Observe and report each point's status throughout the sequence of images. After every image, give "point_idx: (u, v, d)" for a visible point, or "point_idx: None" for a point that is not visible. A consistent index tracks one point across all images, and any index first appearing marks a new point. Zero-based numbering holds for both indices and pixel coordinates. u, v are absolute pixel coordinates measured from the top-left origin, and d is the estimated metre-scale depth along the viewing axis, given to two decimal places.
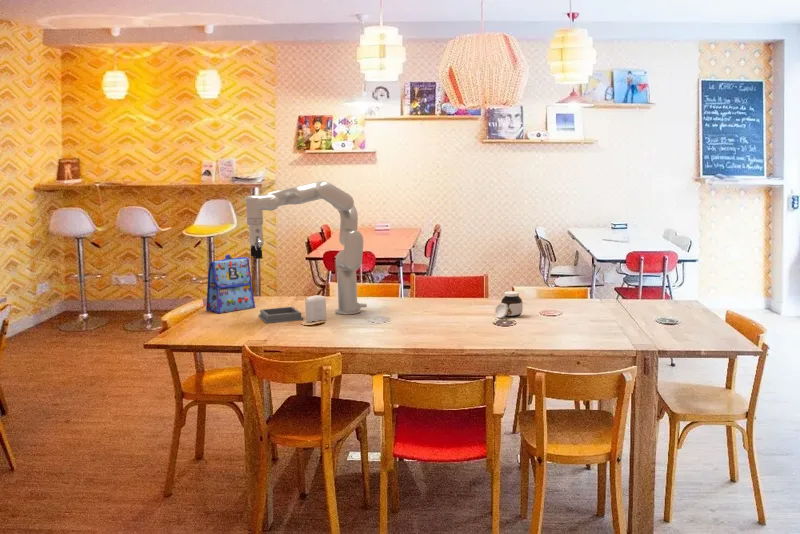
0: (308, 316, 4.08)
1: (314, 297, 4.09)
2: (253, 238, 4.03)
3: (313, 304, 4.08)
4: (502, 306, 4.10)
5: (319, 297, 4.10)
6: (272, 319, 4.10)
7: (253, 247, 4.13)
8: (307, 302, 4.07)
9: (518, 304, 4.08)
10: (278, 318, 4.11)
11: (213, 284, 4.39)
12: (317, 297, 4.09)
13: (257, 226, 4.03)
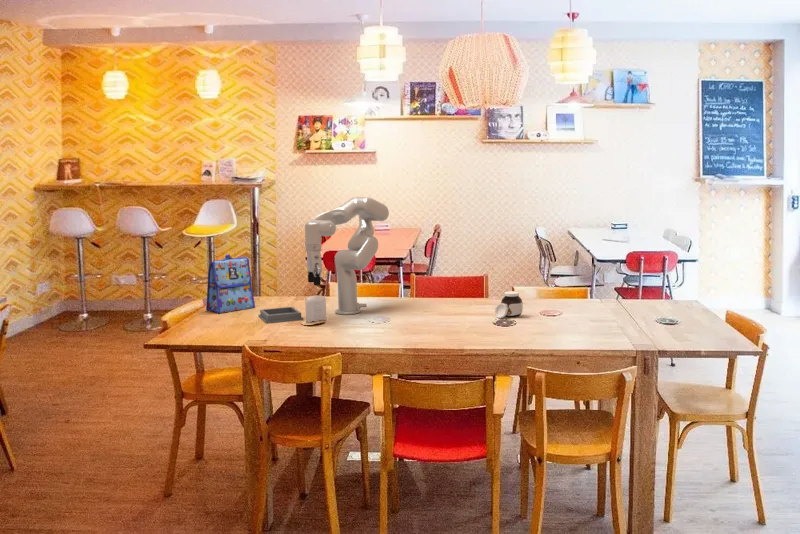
0: (308, 316, 4.08)
1: (314, 297, 4.09)
2: (312, 265, 4.03)
3: (313, 304, 4.08)
4: (502, 306, 4.10)
5: (319, 297, 4.10)
6: (272, 319, 4.10)
7: (310, 273, 4.13)
8: (307, 302, 4.07)
9: (518, 304, 4.08)
10: (278, 318, 4.11)
11: (213, 284, 4.39)
12: (317, 297, 4.09)
13: (316, 253, 4.03)
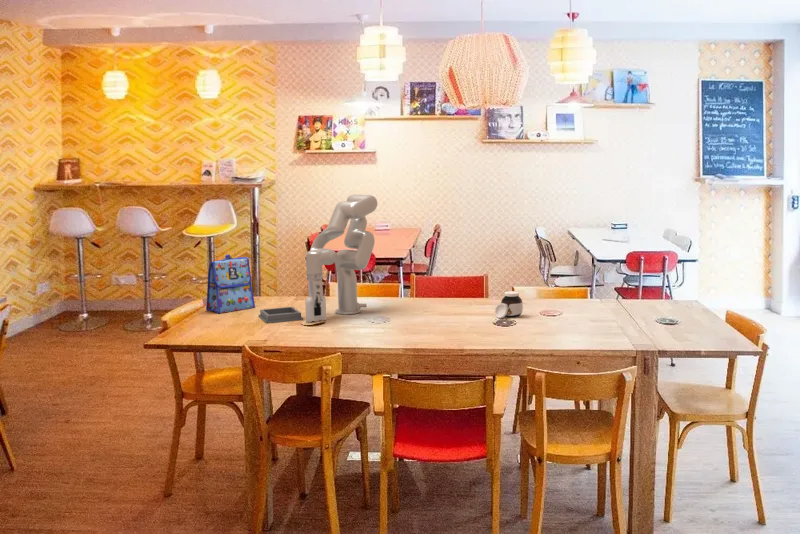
0: (308, 316, 4.08)
1: None
2: (313, 294, 4.05)
3: (313, 304, 4.08)
4: (502, 306, 4.10)
5: None
6: (272, 319, 4.10)
7: None
8: (307, 302, 4.07)
9: (518, 304, 4.08)
10: (278, 318, 4.11)
11: (213, 284, 4.39)
12: None
13: (317, 282, 4.05)
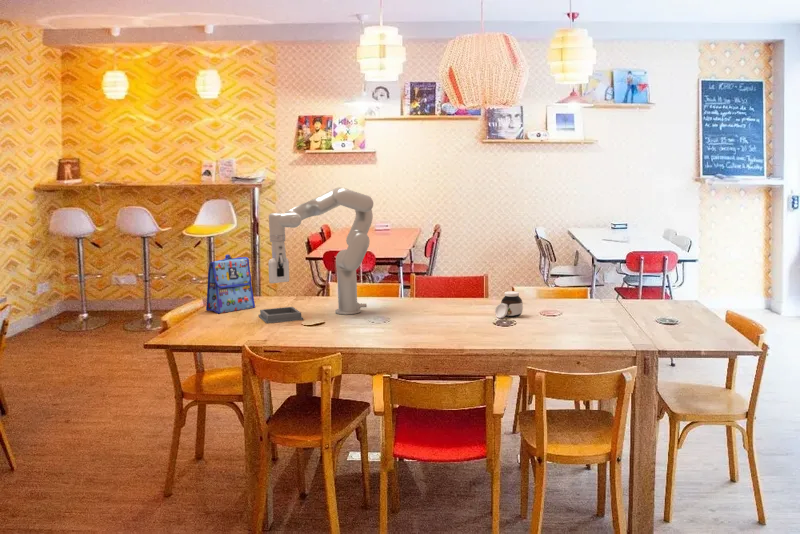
0: (271, 277, 4.13)
1: None
2: (276, 255, 4.10)
3: (276, 265, 4.13)
4: (502, 306, 4.10)
5: None
6: (272, 319, 4.10)
7: None
8: (270, 263, 4.12)
9: (518, 304, 4.08)
10: (278, 318, 4.11)
11: (213, 284, 4.39)
12: None
13: (280, 243, 4.10)
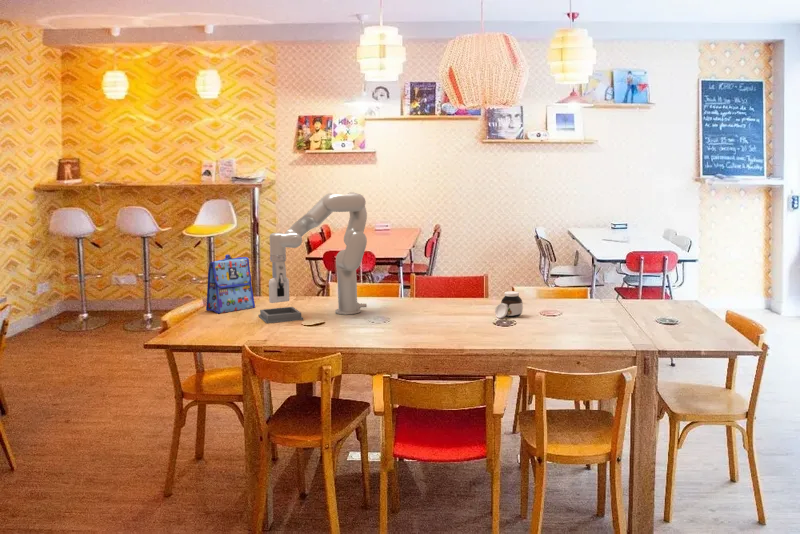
0: (271, 297, 4.15)
1: None
2: (276, 275, 4.12)
3: (276, 285, 4.14)
4: (502, 306, 4.10)
5: None
6: (272, 319, 4.10)
7: None
8: (270, 283, 4.14)
9: (518, 304, 4.08)
10: (278, 318, 4.11)
11: (213, 284, 4.39)
12: None
13: (280, 263, 4.12)
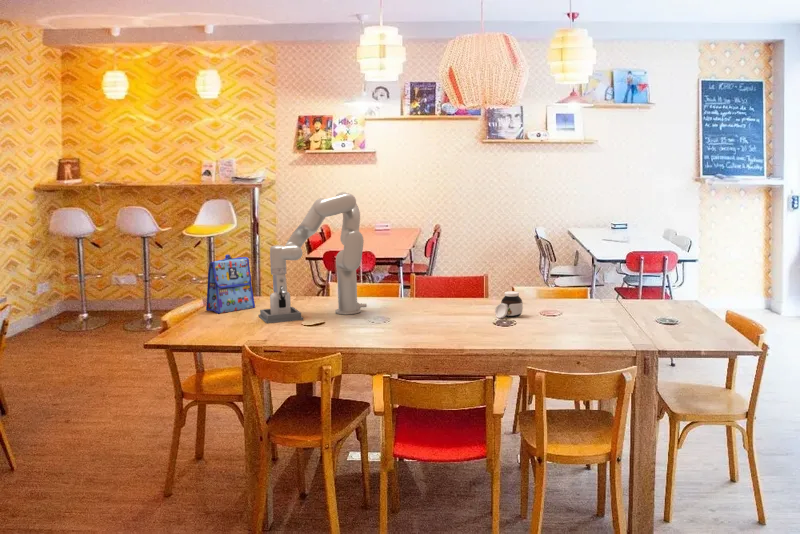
0: (272, 311, 4.16)
1: None
2: (277, 287, 4.13)
3: (277, 299, 4.15)
4: (502, 306, 4.10)
5: None
6: (272, 319, 4.10)
7: None
8: (271, 298, 4.15)
9: (518, 304, 4.08)
10: (278, 318, 4.11)
11: (213, 284, 4.39)
12: None
13: (281, 276, 4.13)
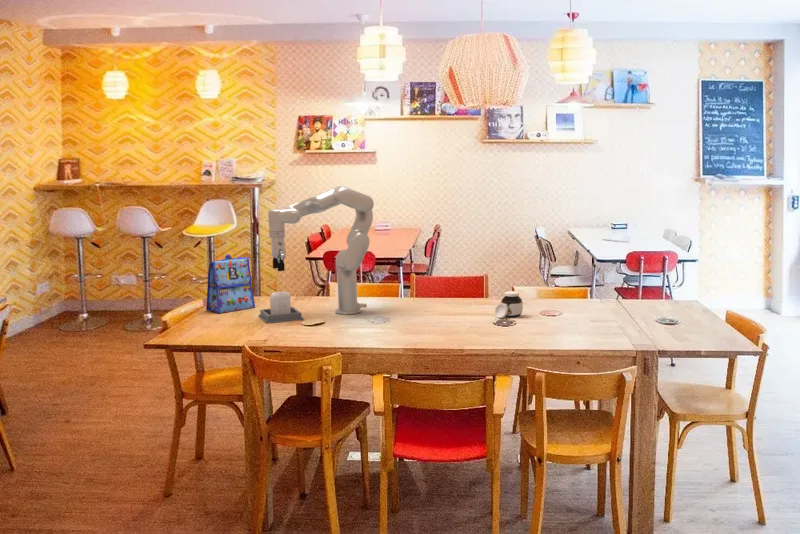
0: (272, 311, 4.16)
1: (278, 293, 4.16)
2: (276, 251, 4.10)
3: (277, 299, 4.15)
4: (502, 306, 4.10)
5: (283, 293, 4.17)
6: (272, 319, 4.10)
7: (275, 259, 4.20)
8: (271, 298, 4.15)
9: (518, 304, 4.08)
10: (278, 318, 4.11)
11: (213, 284, 4.39)
12: (281, 293, 4.17)
13: (279, 239, 4.10)
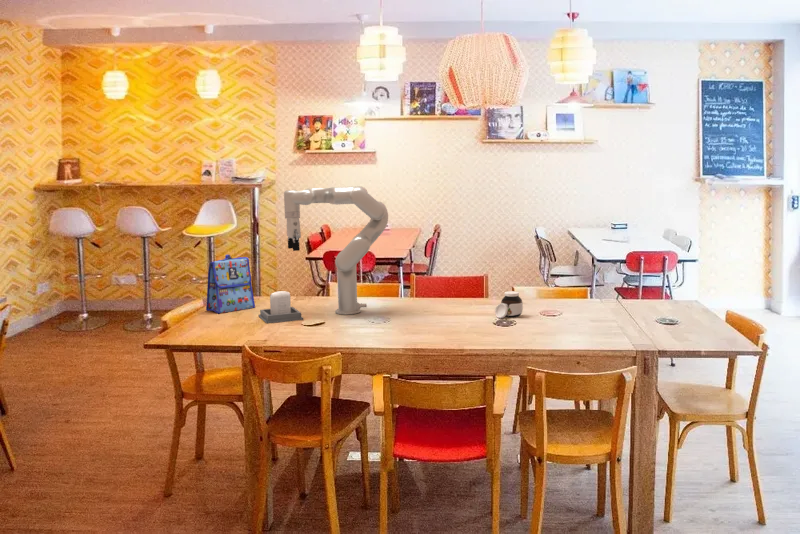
0: (272, 311, 4.16)
1: (278, 293, 4.16)
2: (291, 231, 4.20)
3: (277, 299, 4.15)
4: (502, 306, 4.10)
5: (283, 293, 4.17)
6: (272, 319, 4.10)
7: (290, 240, 4.30)
8: (271, 298, 4.15)
9: (518, 304, 4.08)
10: (278, 318, 4.11)
11: (213, 284, 4.39)
12: (281, 293, 4.17)
13: (295, 219, 4.20)
